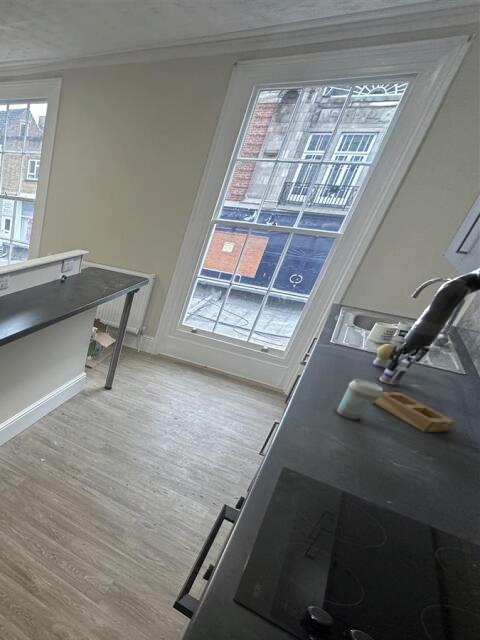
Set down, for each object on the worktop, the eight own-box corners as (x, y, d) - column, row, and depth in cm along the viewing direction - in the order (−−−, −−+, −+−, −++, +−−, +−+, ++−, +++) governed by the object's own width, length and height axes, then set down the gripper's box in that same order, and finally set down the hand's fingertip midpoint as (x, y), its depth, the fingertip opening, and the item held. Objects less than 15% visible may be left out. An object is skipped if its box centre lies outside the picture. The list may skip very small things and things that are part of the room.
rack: (392, 401, 148) (399, 392, 146) (447, 431, 133) (456, 421, 131) (370, 401, 147) (377, 392, 145) (423, 431, 132) (432, 422, 130)
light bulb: (369, 360, 180) (383, 340, 175) (388, 366, 176) (403, 346, 171) (367, 364, 176) (381, 343, 171) (385, 370, 172) (400, 349, 167)
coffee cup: (327, 410, 139) (347, 380, 132) (339, 405, 142) (359, 376, 136) (356, 424, 132) (378, 393, 126) (368, 418, 136) (390, 389, 130)
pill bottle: (394, 381, 164) (409, 360, 158) (398, 386, 159) (414, 365, 154) (377, 376, 166) (392, 356, 161) (380, 382, 162) (396, 361, 157)
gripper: (420, 335, 147) (390, 374, 156) (451, 336, 149) (420, 375, 158) (398, 326, 153) (371, 365, 162) (429, 327, 155) (400, 365, 164)
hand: (396, 370), depth 160 cm, fingers closed on pill bottle, 5 cm apart
